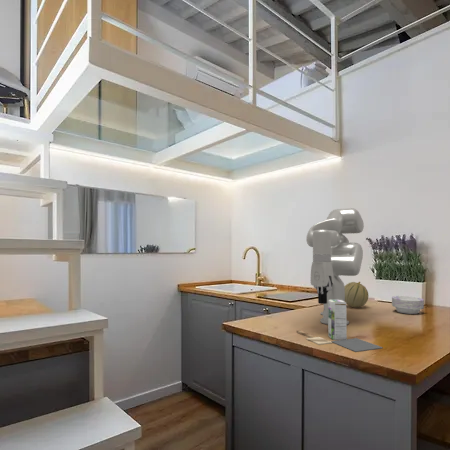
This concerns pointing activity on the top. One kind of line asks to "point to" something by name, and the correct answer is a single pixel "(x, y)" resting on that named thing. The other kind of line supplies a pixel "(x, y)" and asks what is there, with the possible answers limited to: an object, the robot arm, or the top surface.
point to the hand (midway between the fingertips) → (322, 303)
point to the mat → (356, 345)
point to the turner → (314, 338)
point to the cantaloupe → (355, 294)
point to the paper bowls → (407, 304)
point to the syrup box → (337, 320)
